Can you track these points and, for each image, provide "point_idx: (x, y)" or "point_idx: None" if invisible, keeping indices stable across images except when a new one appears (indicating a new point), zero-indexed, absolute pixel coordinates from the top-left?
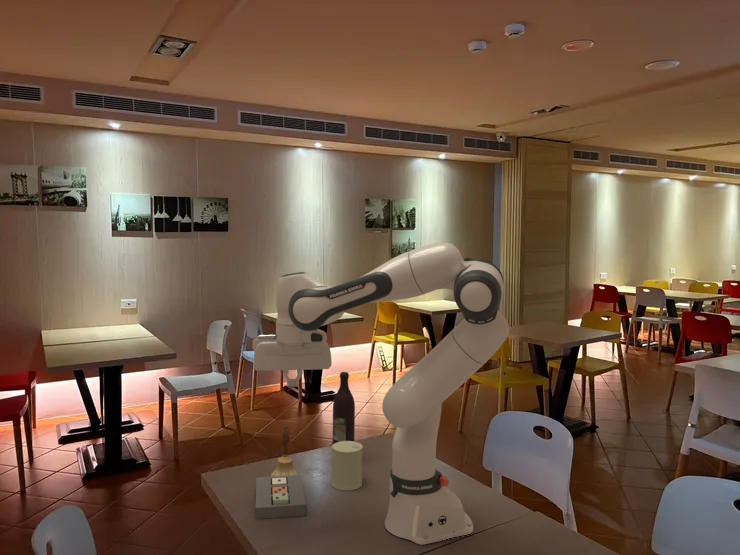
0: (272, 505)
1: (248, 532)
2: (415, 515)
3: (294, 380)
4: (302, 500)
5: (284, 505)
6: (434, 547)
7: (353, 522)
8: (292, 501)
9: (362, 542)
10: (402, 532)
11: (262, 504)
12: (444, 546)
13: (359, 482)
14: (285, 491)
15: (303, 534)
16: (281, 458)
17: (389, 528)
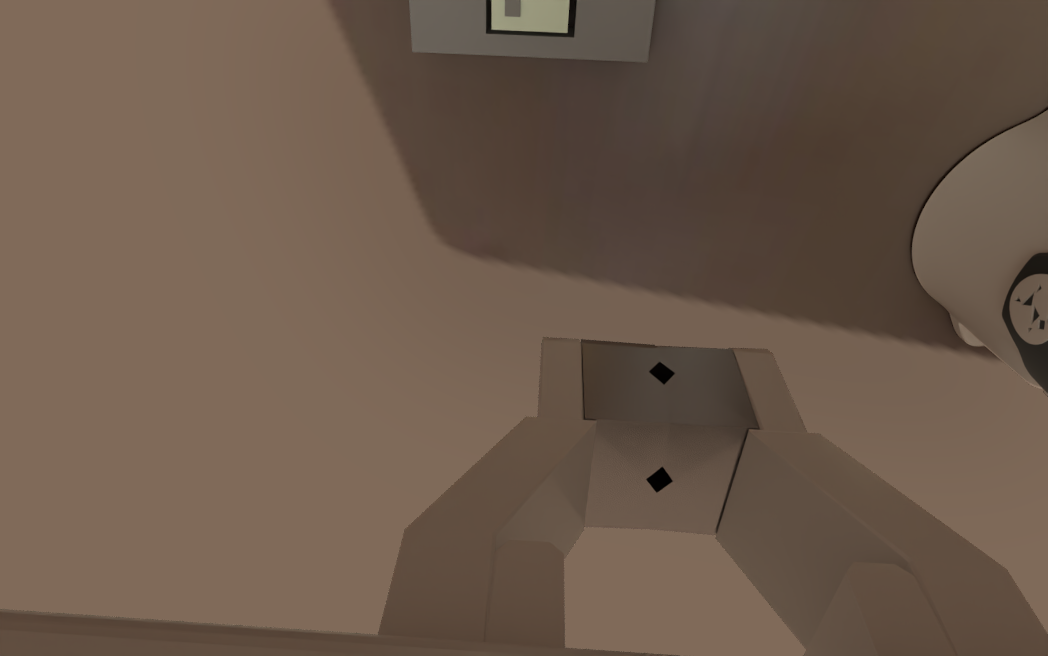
0: (490, 39)
1: (403, 143)
2: (1011, 368)
3: (682, 527)
4: (640, 12)
5: (546, 51)
6: None
7: (819, 151)
8: (589, 14)
9: (789, 285)
10: (942, 302)
11: (442, 19)
12: None
13: None
14: None
15: (604, 198)
16: None
17: (919, 254)
